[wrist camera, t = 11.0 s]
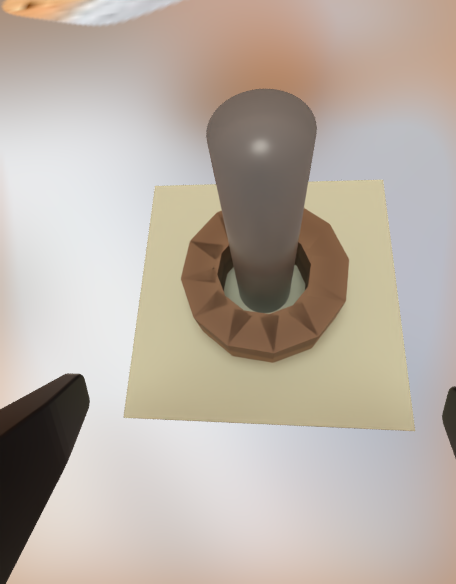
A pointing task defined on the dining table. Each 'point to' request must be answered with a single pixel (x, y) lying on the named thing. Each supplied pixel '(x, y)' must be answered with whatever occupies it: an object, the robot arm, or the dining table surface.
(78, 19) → the dining table surface
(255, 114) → the grey rounded peg
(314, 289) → the bead
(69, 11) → the dining table surface
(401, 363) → the mat
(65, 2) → the dining table surface
